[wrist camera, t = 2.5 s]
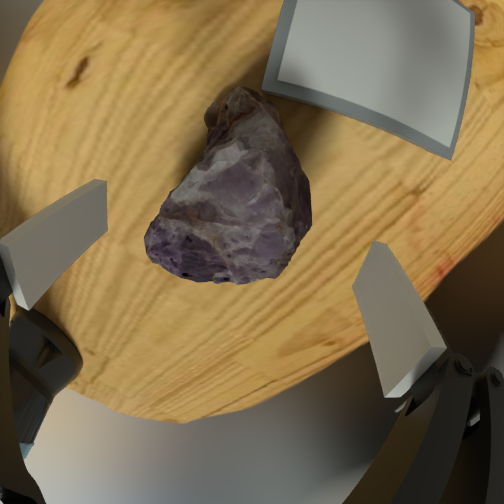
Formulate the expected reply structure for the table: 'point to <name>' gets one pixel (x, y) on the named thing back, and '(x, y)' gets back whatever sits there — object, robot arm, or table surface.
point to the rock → (235, 199)
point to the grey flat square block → (378, 64)
